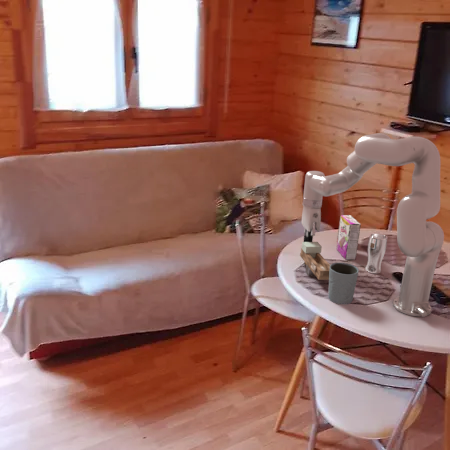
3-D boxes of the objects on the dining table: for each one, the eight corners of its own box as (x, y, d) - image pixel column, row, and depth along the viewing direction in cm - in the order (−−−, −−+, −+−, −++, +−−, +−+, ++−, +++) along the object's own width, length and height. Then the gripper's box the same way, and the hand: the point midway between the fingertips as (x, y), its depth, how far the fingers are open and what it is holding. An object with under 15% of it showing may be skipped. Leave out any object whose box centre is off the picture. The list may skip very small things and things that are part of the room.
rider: (320, 257, 199) (321, 246, 197) (305, 258, 198) (306, 246, 196) (316, 252, 203) (317, 241, 202) (301, 253, 202) (302, 242, 200)
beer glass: (382, 275, 197) (388, 240, 192) (364, 272, 199) (370, 238, 193) (381, 267, 204) (386, 234, 199) (363, 265, 205) (369, 232, 200)
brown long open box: (334, 286, 186) (336, 270, 184) (316, 287, 185) (318, 271, 183) (314, 261, 206) (315, 247, 204) (298, 262, 205) (299, 247, 203)
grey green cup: (339, 308, 171) (344, 276, 167) (319, 295, 179) (323, 265, 175) (360, 301, 176) (365, 270, 172) (340, 289, 184) (344, 260, 180)
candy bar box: (335, 249, 220) (340, 214, 214) (346, 249, 221) (351, 214, 215) (345, 260, 209) (350, 223, 204) (356, 260, 210) (361, 223, 204)
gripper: (328, 208, 191) (322, 251, 198) (314, 196, 205) (310, 237, 211) (309, 208, 190) (304, 252, 196) (297, 196, 204) (293, 238, 210)
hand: (307, 244), depth 204 cm, fingers closed
